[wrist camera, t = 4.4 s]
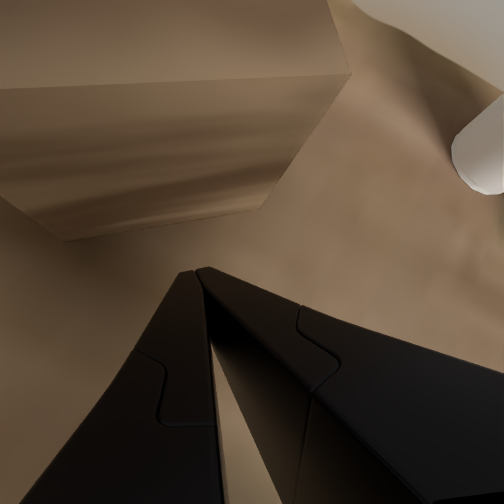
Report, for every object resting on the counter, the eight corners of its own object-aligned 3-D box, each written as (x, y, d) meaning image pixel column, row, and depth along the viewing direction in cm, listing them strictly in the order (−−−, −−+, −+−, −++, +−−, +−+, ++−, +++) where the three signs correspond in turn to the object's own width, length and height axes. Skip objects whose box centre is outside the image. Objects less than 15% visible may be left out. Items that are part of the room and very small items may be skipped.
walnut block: (258, 209, 21) (351, 73, 10) (63, 241, 18) (-139, 95, 6) (246, 163, 22) (320, -17, 10) (55, 186, 18) (-143, -38, 7)
